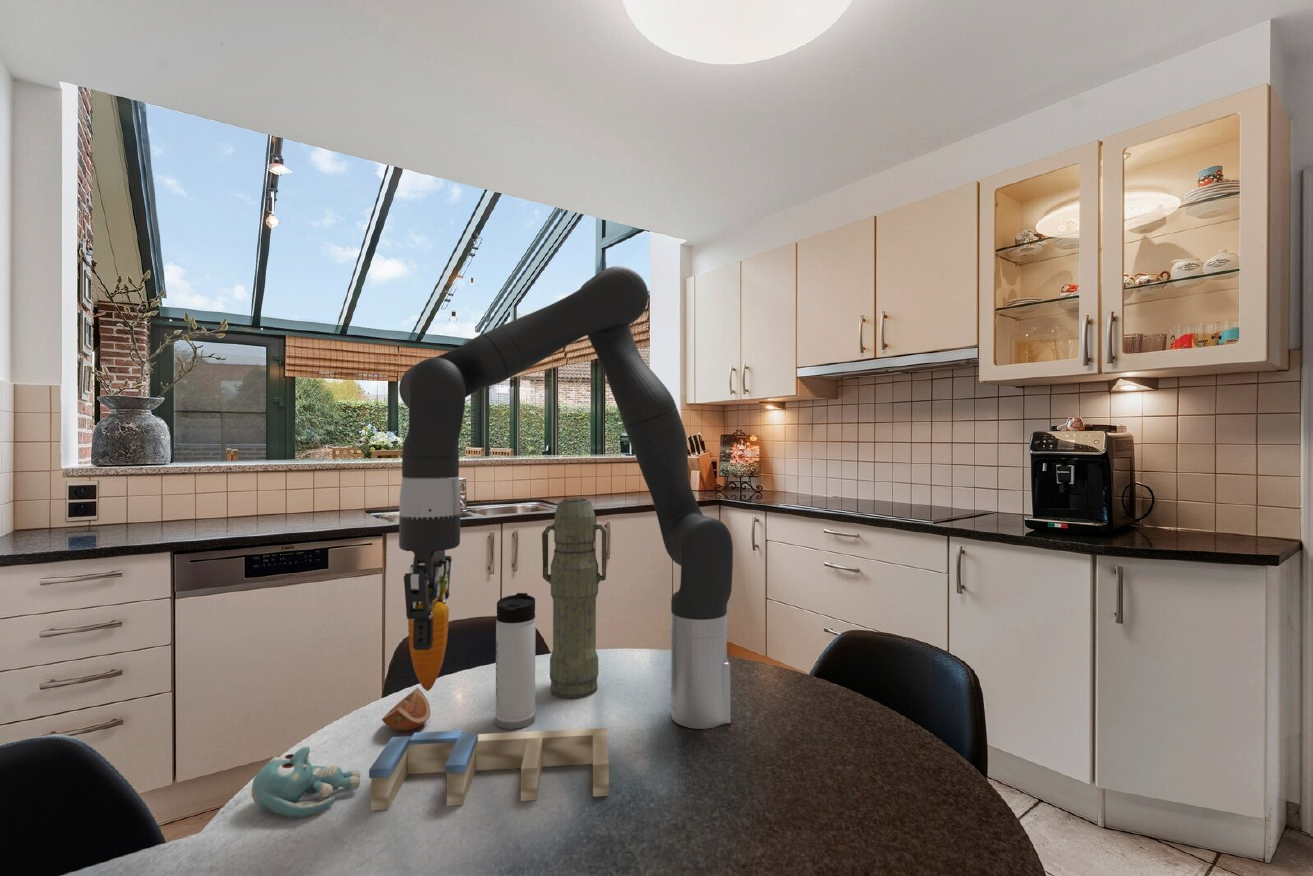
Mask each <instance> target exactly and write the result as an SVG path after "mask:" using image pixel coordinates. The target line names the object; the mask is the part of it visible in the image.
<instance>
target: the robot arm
mask: <svg viewBox="0 0 1313 876" xmlns="http://www.w3.org/2000/svg"><path fill="white" fill-rule="evenodd" d="M648 302H649V290H648V287H647V284H646V282H645V280H644V279H643V277H642V276H641V275H640V274H639V273H638V271H635V270H634V269H632V268H630V267H627V266H625V265H614V266H610V267H606V268H605V269H603V270H601V271H599V272H597V274H595V275H594V276H592V277H591V278H590V279H588V280H587V281H585V282H584V283H583V284H582V285H581V287H580V288H579V289H577V290H576V291H574V292H572V293H571V294H569V295H567V296H565V297H564V298H562V299H560V300H558V301H556V302H553V303H551V304H549V305H547V306H544V307H543V308H539V309H538V310H536V311H533V312H531V313H527V314H525V315H524V316H520V317H518V318H516V319H514V320H511V321H509V322H507V323H505V324H502V325H500V326H497V327H495V328H493V329H490V330H489V331H487V332H484V333H483V334H482V333H481V334H480V335H478V336H476V337H474V338H472V339H471V340H469V341H467V342H465V343H464V344H463V345H461V346H459V347H457V348H455V349H452V350H449V351H447V352H444V353H443V354H439V355H437V356H434V357H430V358H426V359H423V360H422V361H419V362H418V363H416V364H415V365H413V366H411V367H409V368H408V369H407V370H406V371H405V372H404V374H403V375H402V377H401V379H400V382H399V385H398V387H399V388H398V391H399V396H400V399H401V401H402V402H403V404H404V405H405V406H406V407H407V408H408V410H409V411H408V412H409V413H408V431H407V435H406V436H405V438H404V440H403V444H402V455H401V459H402V460H401V477H402V478H401V485H400V491H399V509H398V511H399V512H398V514H399V515H398V516H399V517H398V520H399V521H398V525H399V526H398V547H399V548H400V549H401V550H402V551H405V552H412V553H413V554H414V556H413V562H412V563H413V564H410V568H409V572H408V573H404V576H403V583H404V584H403V585H404V595H405V596H404V597H405V598H404V599H405V600H404V601H405V610H406V615H405V616H406V619H407V620H408V619H411V620H414V626H413V648H414V649H415V650H429V649H430V648H431V647H432V645H433V617H434V604H435V601H438V602H441V603H444V604H445V605H447V600H448V599H449V597H450V583H451V565H452V560H453V558H452V556H451V555H446V551H447V550H452V549H455V548H457V547H459V546H460V543H461V499H462V498H461V489H460V488H461V487H460V477H459V476H460V449H459V441H460V436H461V432H462V427H463V420H464V414H465V407H466V398H467V397H469V396H471V395H473V394H474V393H476V392H479V390H482V389H486V388H488V387H492V386H496V385H497V384H500V383H502V382H504V381H507V380H508V379H510V378H512V377H514V376H516V375H518V374H520V373H523V372H524V371H526V370H528V369H529V368H531V367H533V366H535V365H537V364H538V363H540V362H542V361H544V360H545V359H547V358H548V357H550V356H552V355H553V354H555V353H556V352H559V351H560V350H561V349H564V348H565V347H568V346H569V345H571V344H572V343H574V342H576V341H578V340H581V339H582V338H584V337H586V336H587V338H588V340H589V342H590V343H591V346H592V348H593V350H594V352H595V354H596V355H597V359H598V360H599V362H600V365H601V366H602V370H603V372H604V375H605V376H606V379H607V383H608V386H609V389H610V391H611V394H612V396H613V398H614V401H615V405H616V407H617V409H618V412H619V415H620V418H621V421H622V425H623V427H624V430H625V434H626V436H627V438H628V441H629V444H630V446H631V448H632V451H633V453H634V455H635V458H636V462H637V464H638V466H639V468H640V472H641V474H642V477H643V479H644V481H645V484H646V486H647V488H648V491H649V494H650V497H651V499H652V502H653V506H654V510H655V513H656V518H657V521H658V525H659V529H660V534H661V536H662V541H663V545H664V547H665V550H666V553H667V554H668V556H669V557H670V559H671V560H672V561H673V562H674V563H675V564H677V565H679V566H680V584H679V585H680V586H679V589H678V591H676V592H674V593H673V594H672V596H671V599H670V600H671V601H670V608H671V610H670V611H671V612H670V618H671V619H670V620H671V621H670V627H671V628H670V631H671V632H670V633H671V634H670V635H671V636H670V638H671V639H670V643H671V644H670V647H671V648H670V649H671V651H670V654H671V655H670V656H671V657H670V659H671V660H670V662H671V663H670V664H671V665H670V666H671V667H670V678H671V681H670V684H671V685H670V687H671V689H670V691H671V692H670V693H671V694H670V697H671V698H670V699H671V701H670V709H671V710H670V713H671V719H672V720H673V722H675V723H676V724H678V725H680V726H681V727H682V726H683V727H686V728H688V729H698V730H700V729H701V730H703V729H711V728H712V729H713V728H716V727H720V726H721V725H724V724H730V723H731V663H730V662H729V660H728V652H727V651H728V644H727V642H728V641H727V640H728V636H727V635H728V634H727V633H728V632H727V631H728V626H727V625H728V623H727V622H728V621H727V619H728V614H727V613H728V610H727V609H728V602H729V600H730V597H731V595H732V587H733V567H734V566H733V565H734V546H733V539H732V534H731V532H730V529H729V528H728V527H727V525H726V524H725V523H723V522H722V521H721V520H719V519H718V518H714V517H711V516H706V515H704V514H703V512H702V511H701V508H700V506H699V504H698V502H697V499H696V496H695V494H694V491H693V489H692V486H691V482H690V478H689V467H688V466H689V465H688V464H689V463H688V461H689V455H688V453H689V452H688V451H689V450H688V440H687V434H686V430H685V427H684V424H683V421H682V417H681V416H680V412H679V410H678V407H677V404H676V402H675V399H674V397H673V395H672V394H671V392H670V391H669V390H668V388H667V387H666V385H665V384H664V383H663V382H662V381H661V379H660V378H659V377H658V376H657V375H656V374H655V373H654V372H653V370H652V369H651V368H650V367H649V366H648V364H647V363H646V361H645V360H644V359H643V357H642V355H641V353H640V351H639V349H638V346H637V345H636V342H635V339H634V336H633V333H632V329H631V326H630V325H632V324H633V323H634V322H636V321H637V320H638V319H639V318H640V317H641V316H642V315H643V313H645V310H646V308H647V306H648ZM442 579H446V580H447V581H448V582H447V583H446V585H445V586H444V588H443V589H442V591H441V593H440V583H441V580H442ZM429 589H432V593H431V594H429ZM439 594H440V595H439ZM419 603H422V604H423V608H421V609H418V607H419Z"/></svg>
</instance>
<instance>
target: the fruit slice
mask: <svg viewBox="0 0 1313 876" xmlns="http://www.w3.org/2000/svg"><path fill="white" fill-rule="evenodd" d="M430 716H431V708H430V703H429V701H428V699H427V698H426V696H425V695H424V693H423V691H421V689H419V687H416V688H415V689H413V691H411V692H410V693H409V694H408V695H406V696H405V697H404V698H403V699H401V700H400V701H399V702H398V703H397V704H396V705H394V706H393V707H392V708H391V709H390V710H389V711H388V712H387V713H386V714H385V715H384V716H383V717H382V719H381V721H382V722H383V723H384V724H385V725H386V726H388V727H389V728H391V729H393V730H396V731H411V730H414V729H417V728H420V727H421V726H422V725H423V724H425V723H426V722H427V721H428V720H429V719H430Z"/></svg>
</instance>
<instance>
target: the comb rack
mask: <svg viewBox="0 0 1313 876" xmlns="http://www.w3.org/2000/svg"><path fill="white" fill-rule="evenodd" d="M608 742H609V741H608V728H607V727H598V728H597V727H596V728H578V729H576V728H575V729H556V730H536V731H516V732H515V731H514V732H499V733H497V732H496V733H495V732H494V733H478V732H470V733H468V732H467V733H464V730H462V729H461V730H442V731H422V732H414V733H413V734H412V736H409V735H408V736H407V735H405V736H392V737H391V738H390V739H389V741H388V742H387V744H386V745H385V747H384V748H383V750H382V751H381V752H380V753H379V755H378V756H377V758H376V759H375V761H374V762H373V763H372V765H371V766H370V768H369V769H368V779H371V780H370V794H371V795H370V811H380V810H389V808H390V806H392V803H393V802H394V799H395V797H397V794H398V793H399V791H400V790H401V787H402V786H403V783H404V781H405V780H406V779H407V776H408V775H417V774H418V775H419V774H437V773H439V774H440V773H444V775H446V806H447V807H449V806H461V805H462V806H463V805H464V804H465V801H466V799H467V796H468V792H469V790H470V788H471V785H472V782H473V779H474V777H475V775H476V771H488V770H492V771H493V770H507V769H520V802H529V801H530V802H531V801H537V800H538V797H539V790H540V782H541V777H542V770H543V767H560V766H561V767H562V766H565V767H566V766H576V765H577V766H578V765H579V766H581V765H592V797H594V798H595V797H609V796H610V795H609V794H610V793H609V789H610V786H609V785H610V781H609V780H610V777H609V775H610V774H609V773H610V772H609V771H610V770H609V769H610V767H609V766H610V764H609V763H610V762H609V761H610V760H609V745H608V744H609V743H608Z"/></svg>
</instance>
